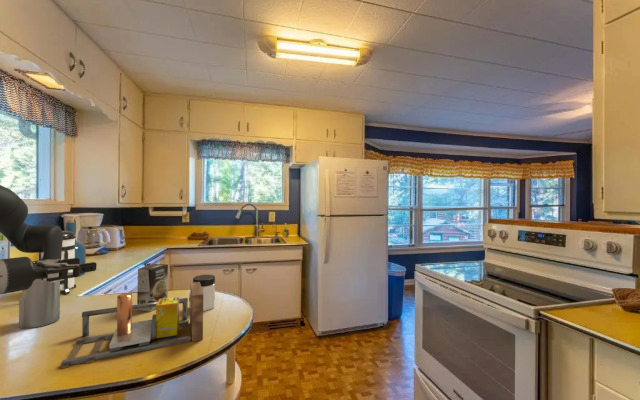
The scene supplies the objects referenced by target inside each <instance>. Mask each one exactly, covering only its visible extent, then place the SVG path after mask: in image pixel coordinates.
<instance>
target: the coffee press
mask: <svg viewBox="0 0 640 400" xmlns="http://www.w3.org/2000/svg"><path fill="white" fill-rule="evenodd" d="M58 226H59V227H60V228H61V226H60V225H58ZM62 233H63V242H62V256H61V260H63V259H71V258H75V239H76V238H77V236H76V234H75V235H74V233H73V232H70V231H66V230H62ZM43 254H44V252H42V253H37V261H38V260H40V259H42V258H43ZM72 272H73V270H68V273H72ZM75 279H76V277H74V278H68V279H62V280H60V293H61V292H62V293H63V295H64V296H66V295H69V294H70V291H71V290H70V289H76V287H77V285H76V283H75Z"/></svg>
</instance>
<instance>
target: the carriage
mask: <svg viewBox="0 0 640 400" xmlns="http://www.w3.org/2000/svg"><path fill="white" fill-rule="evenodd" d="M116 298H117V299H116V307H117V312H116V329H115V331H114V332H113V333H114V335H113V338H112V339H110V342H109V351H110V352H112V351H117V350H121V349H122V348H123V347H126V346H133V345H137V344H138V346H143V345H149V343H150V342H151V341H153V340H156V314H155V313H154V314H152V318H151V319H147V320H141V321H136V322H133V318H132V317H133V310H132V305H133V294H132V293H130V292H129V293H127V292H126V293H122V294H118V295H117V297H116Z"/></svg>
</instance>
